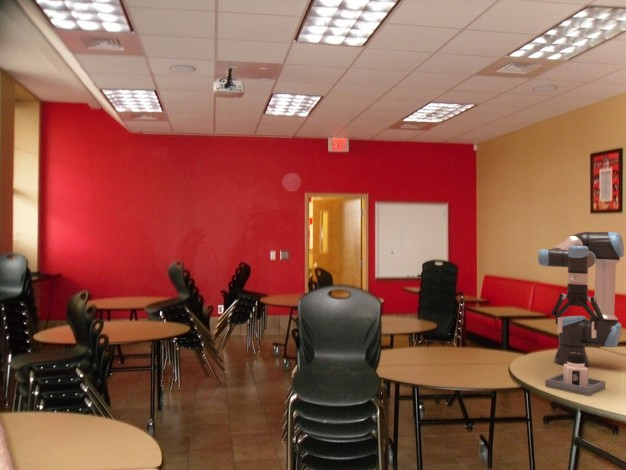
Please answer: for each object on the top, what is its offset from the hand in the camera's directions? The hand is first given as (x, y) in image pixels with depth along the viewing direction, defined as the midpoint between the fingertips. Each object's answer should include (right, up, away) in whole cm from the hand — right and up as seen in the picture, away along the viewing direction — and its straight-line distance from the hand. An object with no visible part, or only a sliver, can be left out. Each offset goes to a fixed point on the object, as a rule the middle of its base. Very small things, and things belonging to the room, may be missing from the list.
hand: (576, 335), depth 226 cm
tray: (-1, -21, 0) cm, 21 cm away
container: (-1, -21, 0) cm, 21 cm away
